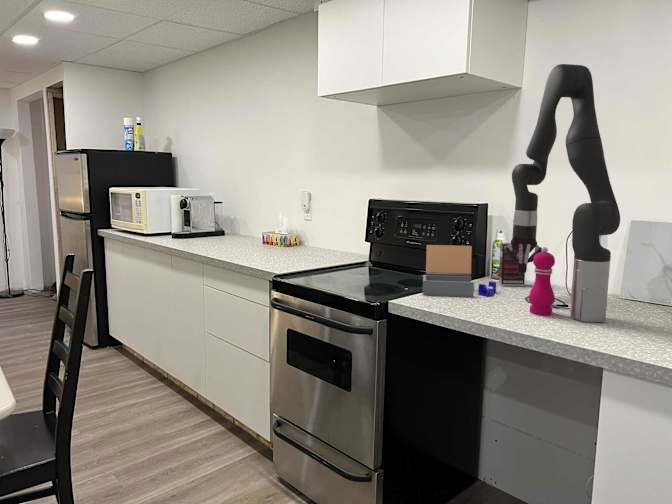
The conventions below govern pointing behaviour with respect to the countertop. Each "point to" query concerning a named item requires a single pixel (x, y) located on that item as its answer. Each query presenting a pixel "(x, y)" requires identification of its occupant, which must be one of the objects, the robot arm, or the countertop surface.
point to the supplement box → (509, 269)
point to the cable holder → (487, 289)
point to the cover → (448, 260)
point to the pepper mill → (542, 284)
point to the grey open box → (448, 285)
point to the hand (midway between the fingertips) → (521, 273)
